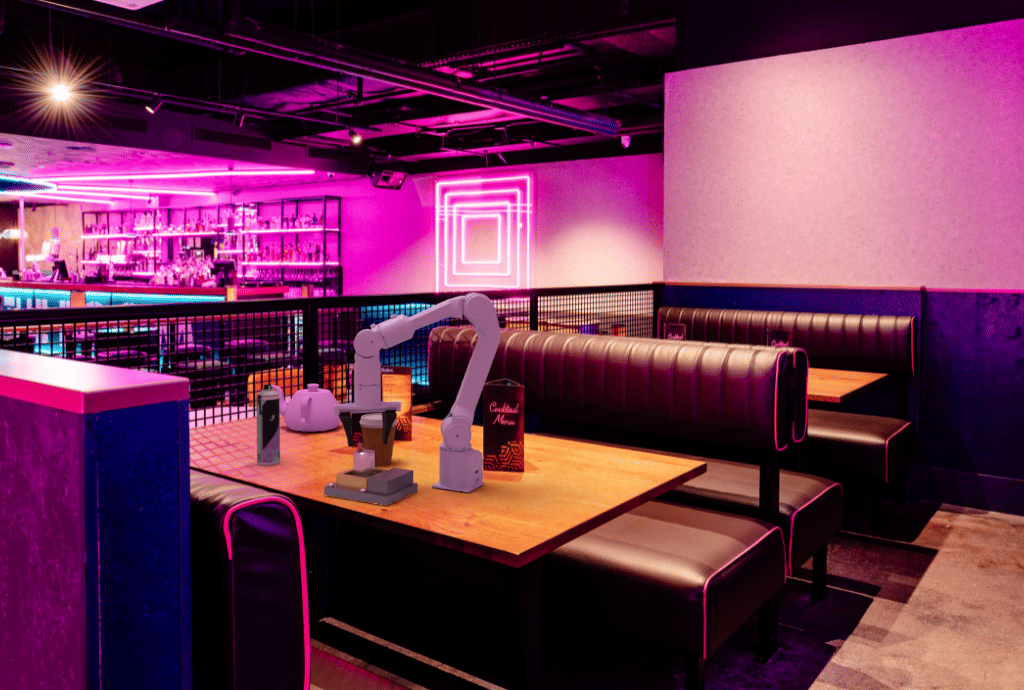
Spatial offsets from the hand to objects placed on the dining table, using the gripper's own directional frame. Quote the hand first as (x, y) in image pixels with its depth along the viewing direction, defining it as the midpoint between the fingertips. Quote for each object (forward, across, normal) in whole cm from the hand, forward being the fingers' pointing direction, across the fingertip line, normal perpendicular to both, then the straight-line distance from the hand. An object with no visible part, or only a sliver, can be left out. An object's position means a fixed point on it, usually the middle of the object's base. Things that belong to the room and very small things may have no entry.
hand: (367, 444), depth 169 cm
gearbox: (+10, 0, +4) cm, 11 cm away
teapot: (+10, +6, -70) cm, 71 cm away
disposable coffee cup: (+10, -7, -22) cm, 25 cm away
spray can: (+10, +19, -30) cm, 37 cm away
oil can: (+8, +1, +3) cm, 8 cm away
